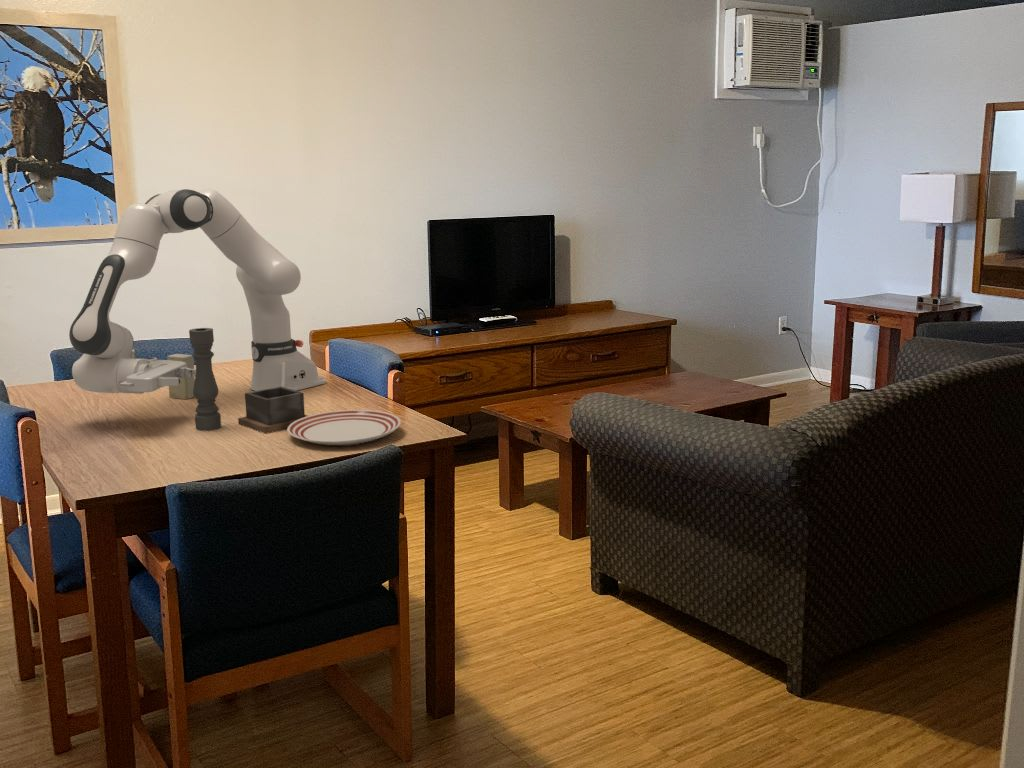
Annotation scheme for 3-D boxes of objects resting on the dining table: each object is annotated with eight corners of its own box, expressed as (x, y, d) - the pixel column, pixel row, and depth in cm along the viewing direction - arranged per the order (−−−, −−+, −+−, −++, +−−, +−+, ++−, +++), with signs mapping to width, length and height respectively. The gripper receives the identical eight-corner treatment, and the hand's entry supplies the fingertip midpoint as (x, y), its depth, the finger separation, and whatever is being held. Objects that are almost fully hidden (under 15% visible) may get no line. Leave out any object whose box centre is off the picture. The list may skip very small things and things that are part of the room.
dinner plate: (354, 458, 228) (354, 444, 228) (263, 442, 241) (262, 429, 241) (423, 429, 252) (422, 417, 251) (336, 417, 265) (336, 404, 264)
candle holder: (226, 425, 256) (219, 328, 251) (209, 431, 251) (202, 332, 245) (207, 423, 259) (200, 327, 253) (190, 429, 253) (182, 331, 248)
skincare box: (169, 398, 287) (165, 356, 284) (179, 394, 291) (176, 353, 288) (186, 399, 284) (183, 357, 282) (197, 396, 288) (194, 354, 286)
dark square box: (286, 414, 267) (284, 384, 265) (313, 422, 258) (311, 392, 256) (238, 423, 258) (236, 393, 256) (265, 433, 249) (263, 401, 247)
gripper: (113, 372, 244) (167, 373, 242) (154, 356, 264) (204, 356, 262) (116, 397, 245) (169, 399, 243) (156, 379, 265) (206, 380, 263)
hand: (187, 377), depth 253 cm, fingers open, 8 cm apart
